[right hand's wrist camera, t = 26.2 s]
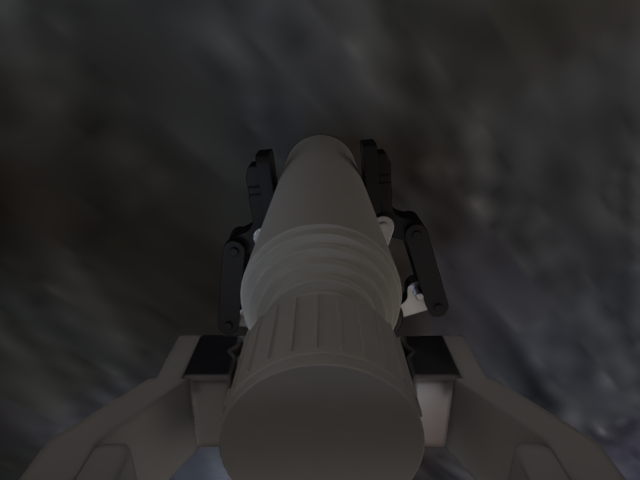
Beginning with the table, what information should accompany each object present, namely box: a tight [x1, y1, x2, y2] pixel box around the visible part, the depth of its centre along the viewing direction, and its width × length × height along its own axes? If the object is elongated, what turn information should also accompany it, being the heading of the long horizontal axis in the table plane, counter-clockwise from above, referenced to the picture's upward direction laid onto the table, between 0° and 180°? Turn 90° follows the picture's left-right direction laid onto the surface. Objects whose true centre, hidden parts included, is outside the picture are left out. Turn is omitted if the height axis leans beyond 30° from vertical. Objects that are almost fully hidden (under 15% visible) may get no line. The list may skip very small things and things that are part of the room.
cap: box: [219, 294, 425, 480], centre depth 9 cm, size 4×4×2 cm
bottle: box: [240, 135, 402, 330], centre depth 19 cm, size 5×5×23 cm
